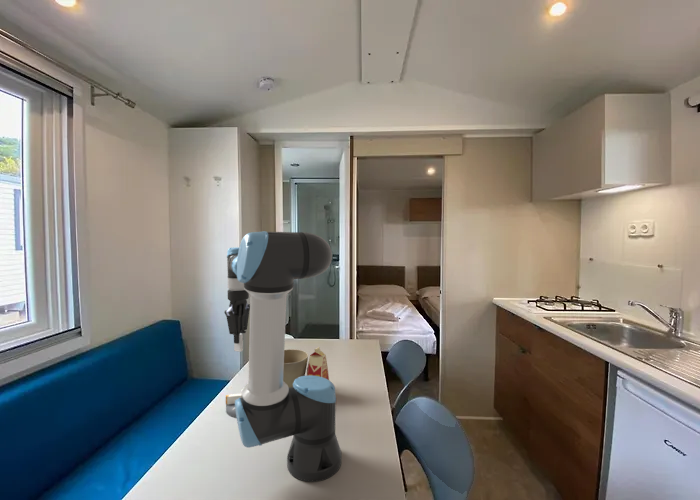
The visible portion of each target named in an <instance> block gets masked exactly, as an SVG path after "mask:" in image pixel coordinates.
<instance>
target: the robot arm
mask: <svg viewBox="0 0 700 500" xmlns="http://www.w3.org/2000/svg"><path fill="white" fill-rule="evenodd" d="M332 252H333V251H332V248H331V246H330V245H329V243H328V242H327V241H326V240H325V239H324V238H323V237H321V236H320V235H317V234H315V233H312V232H307V231H306V232H305V231H300V232H299V231H298V232H297V231H266V230H263V231H253V232H252V231H251V232H248V233H246V234H245V235H244V236H243V237H242V239H241V241H240V243H239V247H238V246H237V247H229V248H228V249H227V252H226V253H227V255H226V259H227V260H226V261H227V266H226V267H227V300H229V305H228V309H227V310H224V314H225V316H226V322H227V327H228V332H229V334H230V335H233V343H234V345H233V346H234V347H233V348H234V349H233V350H234V352H239V353H240V352H243V351H244V334H246V332H247V330H248V325H249V332H248V333H249V343H248V344H249V345H248V346H249V347H248V380H247V381H248V383H247V384H246V385H245V386H244V387H243V388H242V389H243V391H242V398H238V399H236V400H235V411H236V417H237V418H236V422H237V427H238V432H239V437H240V441H241V444H242V446H244V447H246V448H252V447H253V448H254V447H257V446H259V447H260V446H263V445H265V444H269V443H272V442H275V441H278V440H281V439H282V440H283V439H286V438H289V437H291V436H293V437H292V439H291V440H292V441H291V442H290V446H289V448H288V452H287V457H286V465H287V471H289V473H290V475H291V476H293V477H294V478H295V479H298V480H301V481H303V482H311V483H313V482H319V481H324V480H327V479H329V478H331V477H332V476H333V475H335V474H336V473H337V472H338V471H339V469H340V468H341V464H342V450H341V447H340V444H339V440H338V437H337V435H336V409H337V408H336V405H337V403H336V402H337V398H336V387H335V385H334V383H333V382H332V381H331V380H330V379H329V380H328V379H326V378H323V377H319V376H312V375H308V376H307V375H305V376H301V377H298V378H297V379H295V380H294V383H293V387H290V388H288V385H287V384H286V383H285V382H284V381H283V372H284V350H285V347H286V346H285V343H286V341H285V340H286V315H287V311H286V310H287V295H288V294H289V293H290V292H292V291H293V289H294V280H304V279H310V278H315V277H317V276H319V275H321V274H324V273H325V272H326V271H327V270H328V268H329V267H330V266H331V263H332V261H333V253H332ZM249 296H250V297H249ZM248 299H249V303H248V301H247V300H248Z"/></svg>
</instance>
